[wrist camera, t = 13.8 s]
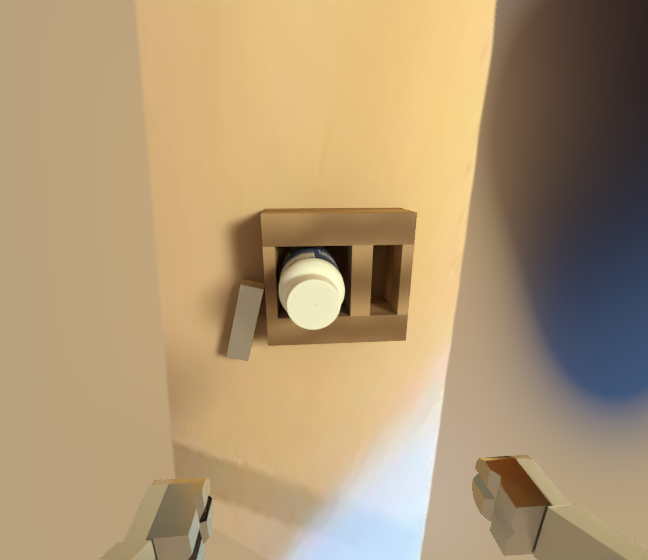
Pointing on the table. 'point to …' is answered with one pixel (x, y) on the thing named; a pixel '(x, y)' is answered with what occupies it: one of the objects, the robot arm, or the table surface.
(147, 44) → the table surface
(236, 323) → the slim grey peg
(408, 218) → the wooden compartment tray
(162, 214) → the table surface
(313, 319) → the pill bottle
